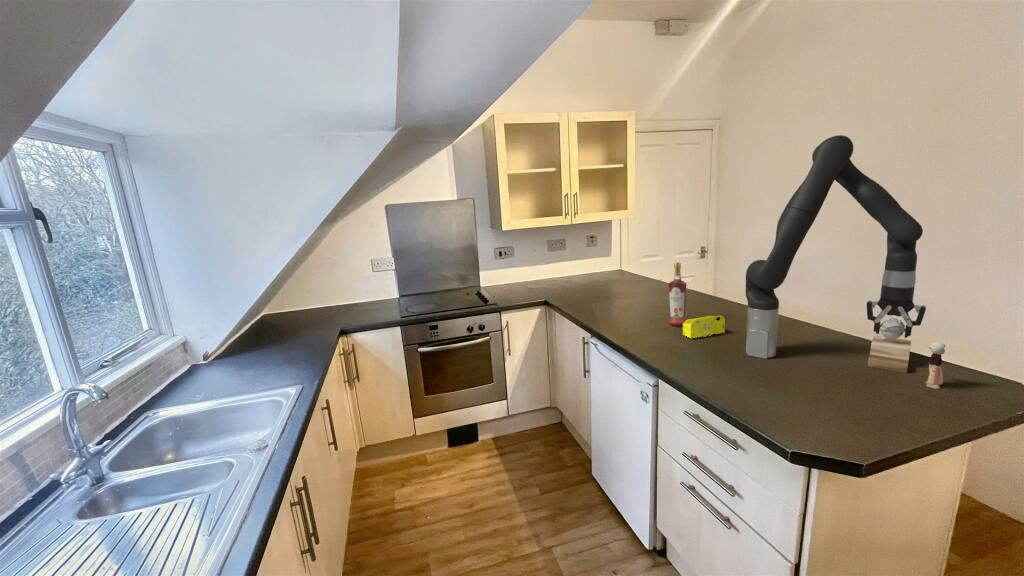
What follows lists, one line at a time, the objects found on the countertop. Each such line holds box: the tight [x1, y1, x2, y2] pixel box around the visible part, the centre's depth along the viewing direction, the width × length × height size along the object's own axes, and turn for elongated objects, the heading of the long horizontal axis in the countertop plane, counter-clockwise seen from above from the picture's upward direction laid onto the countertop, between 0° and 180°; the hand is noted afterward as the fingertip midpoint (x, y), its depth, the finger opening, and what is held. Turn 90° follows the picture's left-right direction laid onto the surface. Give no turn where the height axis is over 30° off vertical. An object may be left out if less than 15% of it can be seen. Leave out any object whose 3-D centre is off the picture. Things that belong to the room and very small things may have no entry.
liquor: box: [668, 262, 687, 327], centre depth 180 cm, size 7×7×28 cm
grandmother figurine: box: [925, 341, 946, 390], centre depth 114 cm, size 8×4×13 cm, turn 148°
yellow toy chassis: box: [682, 315, 726, 339], centre depth 167 cm, size 16×6×8 cm, turn 104°
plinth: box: [867, 335, 912, 374], centre depth 131 cm, size 14×9×6 cm, turn 135°
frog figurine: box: [879, 317, 906, 339], centre depth 131 cm, size 6×7×7 cm
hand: (891, 334), depth 131 cm, fingers open, 6 cm apart
